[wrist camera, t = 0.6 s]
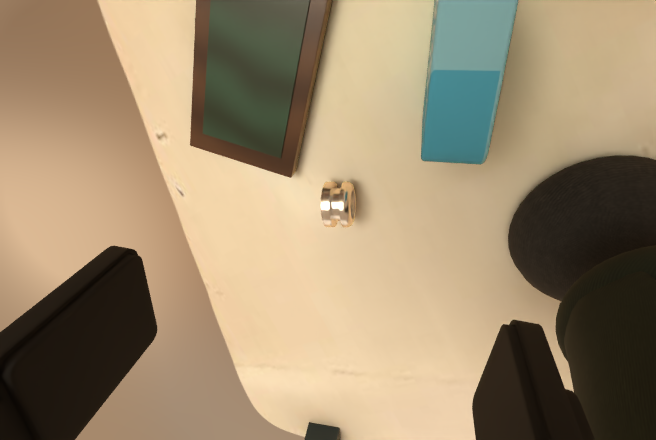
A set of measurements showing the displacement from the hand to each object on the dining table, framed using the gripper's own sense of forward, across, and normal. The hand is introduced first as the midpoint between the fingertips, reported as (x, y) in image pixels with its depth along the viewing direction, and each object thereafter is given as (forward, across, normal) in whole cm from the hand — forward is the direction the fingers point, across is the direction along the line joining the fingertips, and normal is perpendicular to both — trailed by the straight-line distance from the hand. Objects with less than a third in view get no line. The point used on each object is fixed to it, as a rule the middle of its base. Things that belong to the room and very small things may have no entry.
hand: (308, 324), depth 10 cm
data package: (+32, -5, -3) cm, 33 cm away
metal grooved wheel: (+33, +4, +12) cm, 35 cm away
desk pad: (+32, +14, -1) cm, 35 cm away
